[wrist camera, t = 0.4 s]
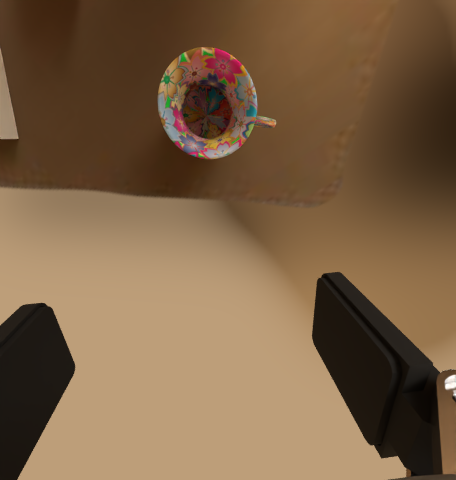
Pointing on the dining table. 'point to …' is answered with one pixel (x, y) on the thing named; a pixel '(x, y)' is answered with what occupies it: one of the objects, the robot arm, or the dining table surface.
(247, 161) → the dining table surface
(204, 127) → the mug
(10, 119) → the base board
